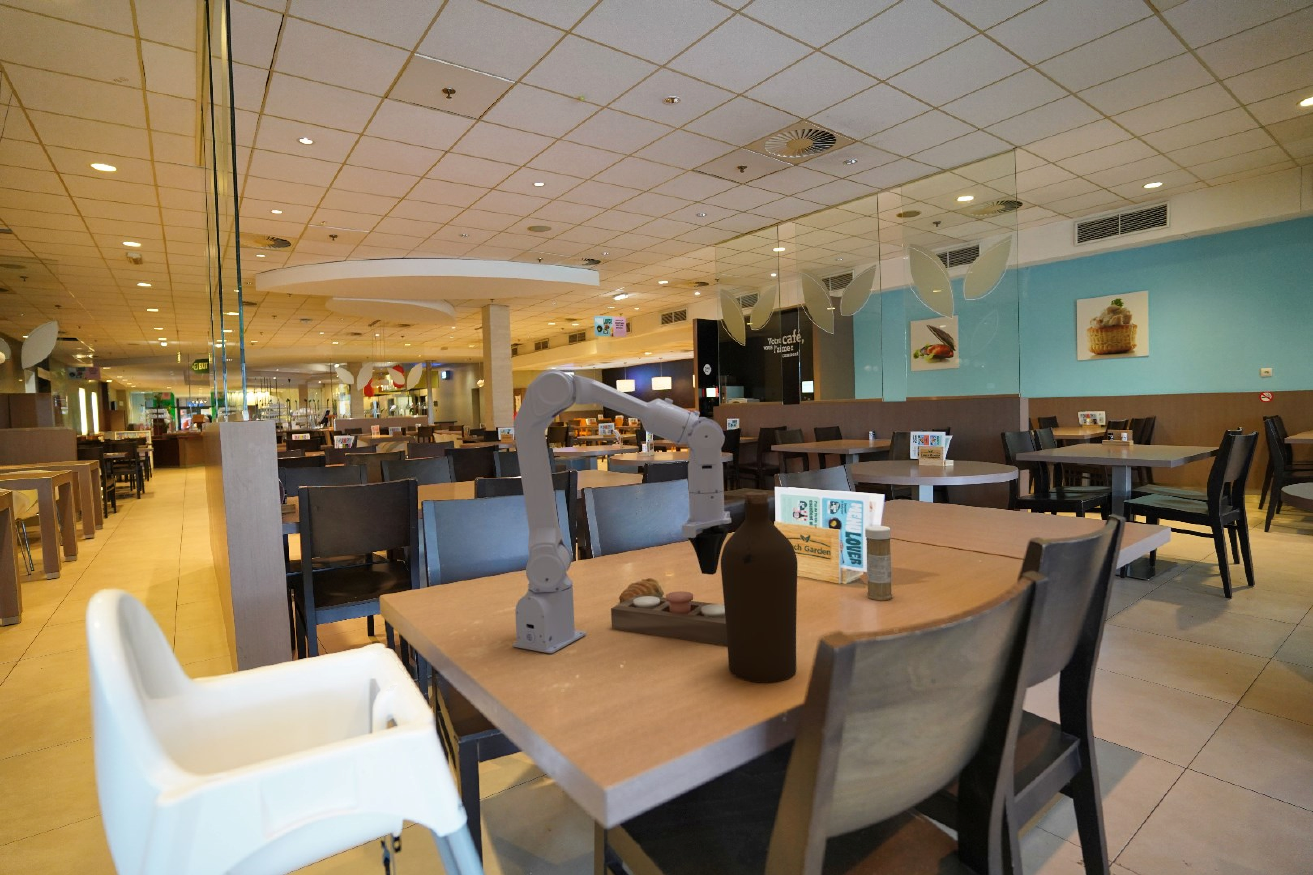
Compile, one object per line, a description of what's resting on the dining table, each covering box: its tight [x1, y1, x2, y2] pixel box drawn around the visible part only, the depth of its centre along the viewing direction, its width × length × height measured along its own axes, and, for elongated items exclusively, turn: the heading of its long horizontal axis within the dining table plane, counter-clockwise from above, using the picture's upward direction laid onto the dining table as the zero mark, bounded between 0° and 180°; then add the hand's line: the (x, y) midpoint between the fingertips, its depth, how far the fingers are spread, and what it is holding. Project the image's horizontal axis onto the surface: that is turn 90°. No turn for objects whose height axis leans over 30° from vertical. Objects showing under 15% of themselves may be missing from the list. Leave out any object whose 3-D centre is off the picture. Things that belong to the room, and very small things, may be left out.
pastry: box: [618, 577, 664, 604], centre depth 128 cm, size 9×7×4 cm
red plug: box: [665, 591, 694, 614], centre depth 111 cm, size 5×5×4 cm
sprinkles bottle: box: [864, 525, 893, 601], centre depth 124 cm, size 5×5×14 cm
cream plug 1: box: [633, 596, 660, 610], centre depth 114 cm, size 5×5×4 cm
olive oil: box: [720, 491, 799, 683], centre depth 92 cm, size 11×11×25 cm
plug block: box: [610, 595, 727, 647], centre depth 111 cm, size 9×22×4 cm, turn 61°
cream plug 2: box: [701, 603, 725, 619], centre depth 108 cm, size 5×5×4 cm
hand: (709, 573), depth 108 cm, fingers closed
